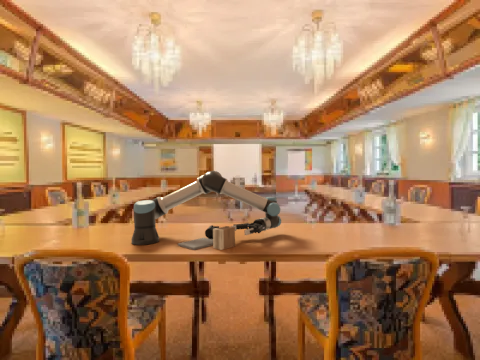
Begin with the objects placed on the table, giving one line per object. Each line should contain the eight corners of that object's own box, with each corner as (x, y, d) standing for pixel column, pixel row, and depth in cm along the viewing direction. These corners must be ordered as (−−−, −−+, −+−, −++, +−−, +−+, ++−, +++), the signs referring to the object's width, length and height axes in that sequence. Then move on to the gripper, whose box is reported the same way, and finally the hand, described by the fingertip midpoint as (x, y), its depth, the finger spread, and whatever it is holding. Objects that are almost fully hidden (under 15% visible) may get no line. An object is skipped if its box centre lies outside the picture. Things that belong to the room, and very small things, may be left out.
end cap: (208, 235, 181) (208, 225, 181) (219, 235, 180) (219, 225, 180) (205, 239, 171) (204, 228, 171) (216, 239, 170) (216, 228, 170)
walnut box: (227, 244, 158) (213, 247, 151) (227, 226, 158) (212, 228, 151) (235, 246, 154) (220, 249, 147) (234, 227, 154) (220, 230, 147)
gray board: (177, 245, 157) (177, 243, 157) (203, 239, 171) (203, 237, 170) (193, 250, 148) (193, 247, 148) (219, 243, 161) (219, 241, 161)
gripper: (278, 233, 165) (253, 241, 150) (246, 228, 182) (221, 234, 167) (277, 220, 164) (252, 227, 149) (246, 216, 182) (220, 222, 167)
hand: (236, 231), depth 158 cm, fingers open, 13 cm apart
